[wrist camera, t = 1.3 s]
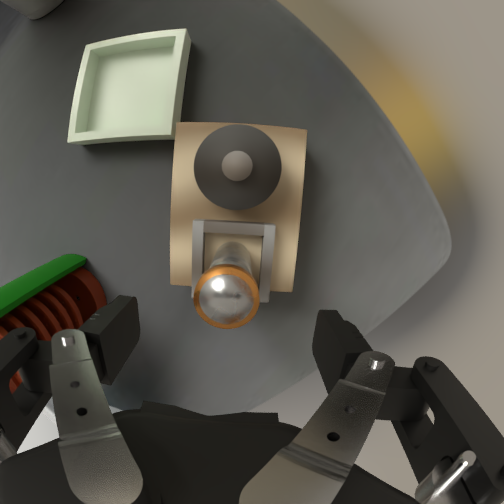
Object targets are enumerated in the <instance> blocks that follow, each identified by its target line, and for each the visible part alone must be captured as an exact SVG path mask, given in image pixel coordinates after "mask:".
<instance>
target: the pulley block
mask: <svg viewBox="0 0 504 504" xmlns="http://www.w3.org/2000/svg"><path fill="white" fill-rule="evenodd" d="M306 138H307V130H304V129H296V128H288V127H279V126H268V125H256V124H241V123H218V122H177V123H176V134H175V145H174V158H173V173H172V191H171V220H170V283H171V285H184V286H192V298H193V297H194V290H195V287H196V285H197V283H198V280H199V279H200V277H201V276H202V274H203V273H204V272H205V271H207V270H208V269H209V268H210V265H211V263H212V260H213V258H214V255H215V253H216V251H217V249H218V248H219V247H220V246H221V245H222V244H224V243H226V242H231V241H234V242H238V243H241V244H242V245H244V246H245V247H246V248H247V250H248V251H249V254H250V260H251V272H252V276H253V277H254V279H255V281H256V283H257V285H258V290H259V297H260V302H267V303H269V293H270V291H279V292H292V289H293V281H294V273H295V264H296V255H297V246H298V237H299V227H300V216H301V205H302V194H303V182H304V168H305V154H306Z"/></svg>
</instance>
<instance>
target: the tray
mask: <svg viewBox="0 0 504 504" xmlns="http://www.w3.org/2000/svg"><path fill="white" fill-rule="evenodd" d="M190 47H191V39H190V37H189V34H188V32H187V29H174V30H164V31H155V32H147V33H141V34H134V35H129V36H123V37H118V38H113V39H109V40H104V41H100V42H96V43H92V44H88V45H86V47H85V50H84V54H83V58H82V62H81V66H80V70H79V74H78V78H77V83H76V88H75V93H74V98H73V104H72V110H71V117H70V124H69V132H68V141H67V143H73V144H78V145H88V144H98V143H110V142H123V141H142V140H175V134H176V123H177V122H180V120H181V110H182V102H183V94H184V86H185V79H186V72H187V65H188V59H189V52H190Z"/></svg>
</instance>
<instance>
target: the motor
mask: <svg viewBox="0 0 504 504" xmlns="http://www.w3.org/2000/svg"><path fill="white" fill-rule="evenodd" d="M86 259H87V258H85V257H83V256H80V255H76V254H66V255H63V256H61V257H58V258H56V259H54V260H52V261H50V262H48V263H46V264H44V265H42V266H40V267H38V268H36V269H34V270H32V271H30V272H28V273H26V274H24V275H23V276H21V277H19V278H17V279H15V280H13V281H11V282H9V283H8V284H6V285H4V286H2V287H0V340H1V339H2V338H3V337H4V336H6V335H7V334H8V333H9V332H10V331H12V330H14V329H16V328H20V327H29V328H32V329H33V330H34V331H35V333H36V337H37V340H43V341H51V339H52V337H53V335H54V334H56V333H57V332H59V331H62V330H66V329H76V330H77V329H78V328H79V327H80V326H81V325H83V324H84V323H85V322H86V321H87V320H88V319H90V317H91V316H92V315H93V314H94V313H95V312H96V311H97V310H98V309H99V308H101V307H103V306H106V305H107V302H106V297H105V294H104V291H103V289H102V287H101V285H100V283H99V282H98V280H97V279H96V278H95V277H94V276H93V275H92V274H91V273H90V272H89V271H88V270H86V269H84V268H82V267H81V266H82V265H84V264H85V263H86ZM76 296H79V297H80V300H77V298H76ZM21 383H22V379H21V377H20V374H19V372H18V371H17V372H16V373H15V374H14V375H13V376H12V378H11V379H10V383H9V388H10V391H11V393H12V394H13V392H14V391H15V390H16V389H17V388H18V386H19V385H20V384H21Z"/></svg>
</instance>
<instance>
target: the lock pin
mask: <svg viewBox="0 0 504 504" xmlns="http://www.w3.org/2000/svg"><path fill="white" fill-rule="evenodd" d="M193 299H194V305H195V308H196V310H197V312H198V314H199V315H200V316H201V318H202V319H203V320H205V321H206V322H207V323H209V324H210V325H212V326H215V327H218V328H223V329H232V328H237V327H240V326H243V325H244V324H246V323H248V322H249V321H250V320H251V319H252V318H253V317H254V315H255V314H256V312H257V310H258V307H259V302H260V297H259V290H258V285H257V283H256V281H255V279H254V277H253V276H252V272H251V260H250V254H249V251H248V250H247V248H246V247H245V246H244V245H242V244H241V243H238V242H234V241H231V242H226V243H224V244H222V245H221V246H220V247H219V248H218V249H217V251H216V253H215V255H214V258H213V260H212V263H211V265H210V268H209V269H208V270H207V271H205V272H204V273H203V274H202V276H201V277H200V279H199V280H198V283H197V285H196V287H195V290H194V297H193Z"/></svg>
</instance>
